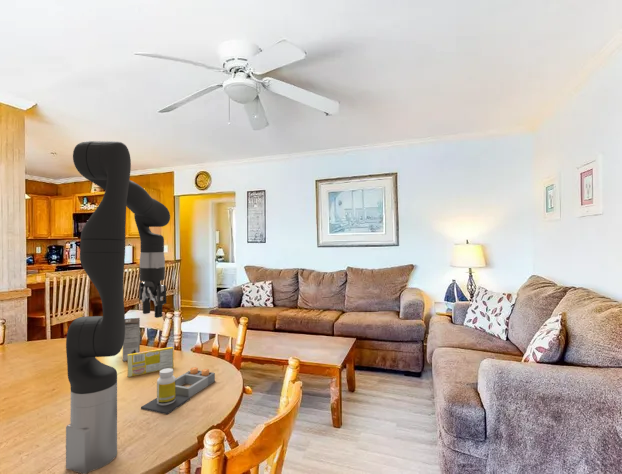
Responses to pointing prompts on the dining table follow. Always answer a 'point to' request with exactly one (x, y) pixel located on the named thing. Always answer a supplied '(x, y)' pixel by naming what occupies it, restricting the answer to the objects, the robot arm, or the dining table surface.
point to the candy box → (150, 361)
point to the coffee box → (131, 337)
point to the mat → (166, 408)
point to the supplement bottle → (166, 387)
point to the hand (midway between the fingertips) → (152, 315)
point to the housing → (193, 383)
